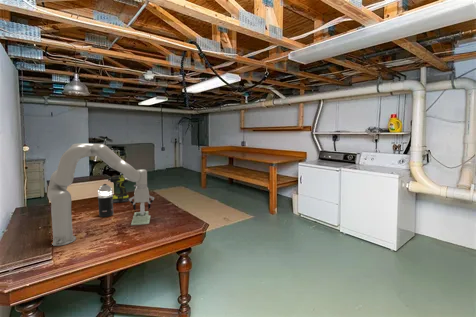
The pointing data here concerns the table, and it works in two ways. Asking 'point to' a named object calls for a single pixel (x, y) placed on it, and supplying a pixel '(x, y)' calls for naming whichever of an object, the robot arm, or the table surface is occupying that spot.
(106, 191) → the black silver cylindrical canister
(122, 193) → the power drill
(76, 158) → the robot arm
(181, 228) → the table surface
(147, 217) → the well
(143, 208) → the bracket
